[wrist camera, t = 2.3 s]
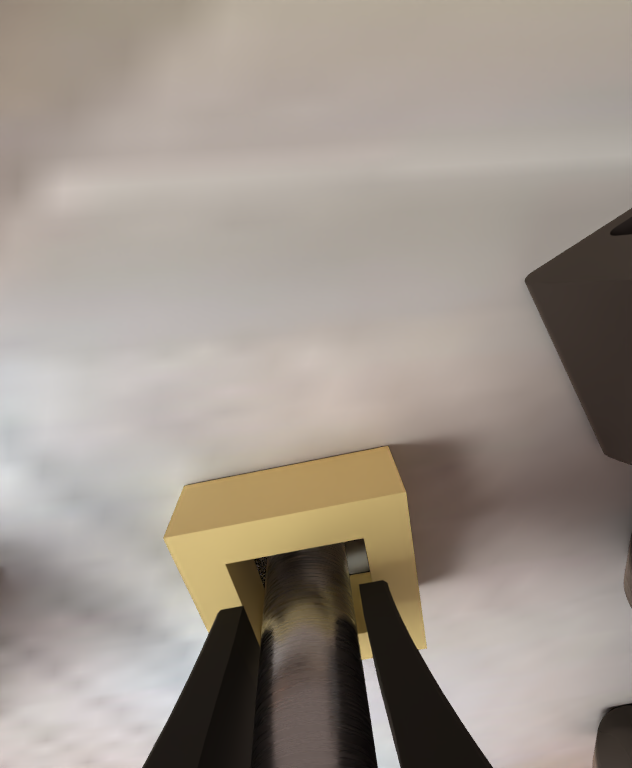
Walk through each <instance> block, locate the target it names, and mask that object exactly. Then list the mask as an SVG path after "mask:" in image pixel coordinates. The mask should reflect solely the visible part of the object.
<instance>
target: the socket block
mask: <svg viewBox="0 0 632 768" xmlns="http://www.w3.org/2000/svg"><path fill="white" fill-rule="evenodd" d="M362 538H364V543H365V548H366V553H367V558H368V563H369V568H370V572H366V573H361V574H355V575H350V576H349V577H350V584H351V590H352V597H353V604H354V611H355V617H356V624H357V631H358V638H359V644H360V651H361V658H362V660H363V659H369V658H373V655H372V650H371V646H370V641H369V637H368V632H367V628H366V624H365V619H364V614H363V608H362V602H361V595H360V589H359V584H364V583H369V582H375V581H380V580H383V581H385V582H387V583H388V586H389V589H390V592H391V595H392V597H393V600H394V602H395V605H396V607H397V609H398V611H399V614H400V616H401V618H402V620H403V622H404V624H405V626H406V628H407V630H408V632H409V634H410V636H411V638H412V640H413V642H414V644H415V645H416V647H417V649H418V650H420V649H425V648H427V646H426V639H425V631H424V624H423V616H422V608H421V601H420V593H419V586H418V578H417V571H416V563H415V556H414V548H413V541H412V533H411V526H410V518H409V511H408V503H407V495H406V491H405V488H404V485H403V483H402V480H401V478H400V475H399V473H398V470H397V468H396V465H395V462H394V460H393V457H392V455H391V452H390V450H389V447H388V446H385V447H380V448H375V449H370V450H365V451H360V452H355V453H350V454H344V455H339V456H334V457H329V458H324V459H319V460H314V461H309V462H304V463H298V464H293V465H288V466H283V467H278V468H273V469H268V470H263V471H258V472H253V473H247V474H242V475H237V476H232V477H227V478H222V479H217V480H212V481H207V482H201V483H196V484H191V485H186V486H184V487H183V490H182V492H181V495H180V497H179V500H178V502H177V505H176V507H175V510H174V512H173V515H172V518H171V520H170V523H169V525H168V528H167V530H166V533H165V535H164V538H163V539H164V541H165V543H166V545H167V547H168V549H169V551H170V553H171V556H172V558H173V560H174V562H175V564H176V566H177V568H178V570H179V572H180V574H181V576H182V578H183V581H184V583H185V585H186V587H187V589H188V591H189V593H190V595H191V597H192V599H193V601H194V603H195V606H196V608H197V610H198V612H199V614H200V616H201V618H202V620H203V622H204V624H205V626H206V629H207V631H208V633H209V632H210V630H211V627H212V625H213V623H214V620H215V618H216V616H217V613H218V612H219V611H220V610H222V609H228V608H233V607H239V606H244V609H245V611H246V613H247V616H248V618H249V621H250V623H251V626H252V628H253V631H254V633H255V636H256V638H257V641H258V643H259V645H260V642H261V630H262V617H263V604H264V592H265V589H264V586H263V583H262V580H261V578H260V575H259V572H258V569H257V567H256V564H255V561H254V559H255V558H261V557H266V556H271V555H277V554H282V553H287V552H293V551H298V550H303V549H308V548H314V547H319V546H324V545H330V544H335V543H340V542H346V541H351V540H356V539H362Z"/></svg>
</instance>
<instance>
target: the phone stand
mask: <svg viewBox="0 0 632 768" xmlns="http://www.w3.org/2000/svg"><path fill="white" fill-rule="evenodd" d="M525 283H526V285H527V287H528V289H529V292H530V294H531V296H532V298H533V300H534V302H535V305H536V307H537V309H538V311H539V313H540V315H541V318H542V320H543V322H544V324H545V326H546V328H547V331H548V333H549V335H550V337H551V339H552V342H553V344H554V346H555V348H556V350H557V352H558V355H559V357H560V359H561V361H562V363H563V365H564V368H565V370H566V372H567V374H568V376H569V378H570V381H571V383H572V385H573V387H574V389H575V391H576V394H577V396H578V398H579V400H580V402H581V404H582V407H583V409H584V411H585V413H586V415H587V418H588V420H589V422H590V424H591V426H592V428H593V431H594V433H595V435H596V437H597V439H598V441H599V444H600V446H601V448H602V450H603V452H604V454H605V455H607V456H608V457H611V458H614V459H616V460H619V461H622V462H624V463H627V464H630V465H632V208H631V209H630V210H628V211H627V212H625V213H624V214H622V215H620V216H619V217H617V218H616V219H614V220H613V221H611V222H610V223H608V224H606V225H605V226H603V227H602V228H600V229H599V230H597V231H595V232H594V233H592V234H591V235H589V236H588V237H586V238H585V239H583V240H581V241H580V242H578V243H577V244H575V245H574V246H572V247H571V248H569V249H567V250H566V251H564V252H563V253H561V254H560V255H558V256H556V257H555V258H553V259H552V260H550V261H549V262H547V263H546V264H544V265H542V266H541V267H539V268H538V269H536V270H535V271H533V272H532V273H530V274H529V275H528V276H527V277H526V279H525Z"/></svg>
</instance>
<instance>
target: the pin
mask: <svg viewBox="0 0 632 768" xmlns="http://www.w3.org/2000/svg"><path fill="white" fill-rule="evenodd" d="M251 768H378V766H377V759H376V752H375V746H374V739H373V732H372V725H371V719H370V712H369V705H368V698H367V692H366V685H365V678H364V671H363V665H362V658H361V651H360V644H359V638H358V631H357V624H356V617H355V611H354V604H353V597H352V590H351V584H350V577H349V570H348V563H347V557H346V550H345V543H344V542H340V543H335V544H330V545H324V546H319V547H314V548H308V549H303V550H298V551H293V552H287V553H282V554H277V555H271V556H267V566H266V579H265V592H264V604H263V617H262V630H261V642H260V655H259V668H258V680H257V693H256V706H255V718H254V731H253V744H252V756H251Z"/></svg>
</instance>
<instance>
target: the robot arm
mask: <svg viewBox="0 0 632 768" xmlns="http://www.w3.org/2000/svg"><path fill="white" fill-rule="evenodd" d="M359 589H360V595H361V602H362V608H363V614H364V619H365V624H366V628H367V632H368V637H369V641H370V646H371V650H372V655H373V659H374V664H375V668H376V673H377V677H378V681H379V686H380V689H381V693H382V697H383V701H384V705H385V709H386V713H387V717H388V720H389V724H390V728H391V732H392V736H393V740H394V744H395V748H396V751H397V755H398V759H399V763H400V767H401V768H493V767H492V765H491V764H490V763H489V761H488V760H487V758H486V757H485V756H484V754H483V753H482V751H481V750H480V748H479V747H478V746H477V744H476V743H475V741H474V740H473V738H472V737H471V735H470V734H469V732H468V731H467V729H466V728H465V726H464V725H463V723H462V722H461V720H460V719H459V717H458V716H457V714H456V712H455V711H454V709H453V708H452V706H451V705H450V703H449V701H448V700H447V698H446V697H445V695H444V694H443V692H442V690H441V689H440V687H439V685H438V684H437V682H436V680H435V679H434V677H433V675H432V674H431V672H430V670H429V668H428V667H427V665H426V663H425V661H424V660H423V658H422V656H421V654H420V653H419V651H418V649H417V647H416V645H415V644H414V642H413V640H412V638H411V636H410V634H409V632H408V630H407V628H406V626H405V624H404V622H403V620H402V618H401V616H400V614H399V611H398V609H397V607H396V605H395V602H394V600H393V597H392V595H391V592H390V589H389V586H388V583H387V582H385V581H383V580H380V581H375V582H369V583H364V584H359ZM259 655H260V645H259V643H258V641H257V638H256V636H255V633H254V631H253V628H252V626H251V623H250V621H249V618H248V616H247V613H246V611H245V609H244V606H239V607H233V608H228V609H222V610H220V611H219V612H218V613H217V616H216V618H215V620H214V623H213V625H212V627H211V630H210V632H209V634H208V637H207V639H206V641H205V643H204V646H203V648H202V650H201V652H200V654H199V657H198V659H197V661H196V663H195V665H194V667H193V670H192V672H191V674H190V676H189V678H188V680H187V682H186V684H185V686H184V688H183V690H182V692H181V694H180V696H179V699H178V701H177V703H176V705H175V707H174V709H173V711H172V713H171V715H170V717H169V719H168V721H167V723H166V724H165V726H164V728H163V730H162V732H161V734H160V736H159V737H158V739H157V741H156V743H155V745H154V747H153V749H152V751H151V752H150V754H149V756H148V758H147V760H146V762H145V764H144V765H143V767H142V768H251V756H252V744H253V731H254V718H255V706H256V693H257V680H258V668H259Z"/></svg>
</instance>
